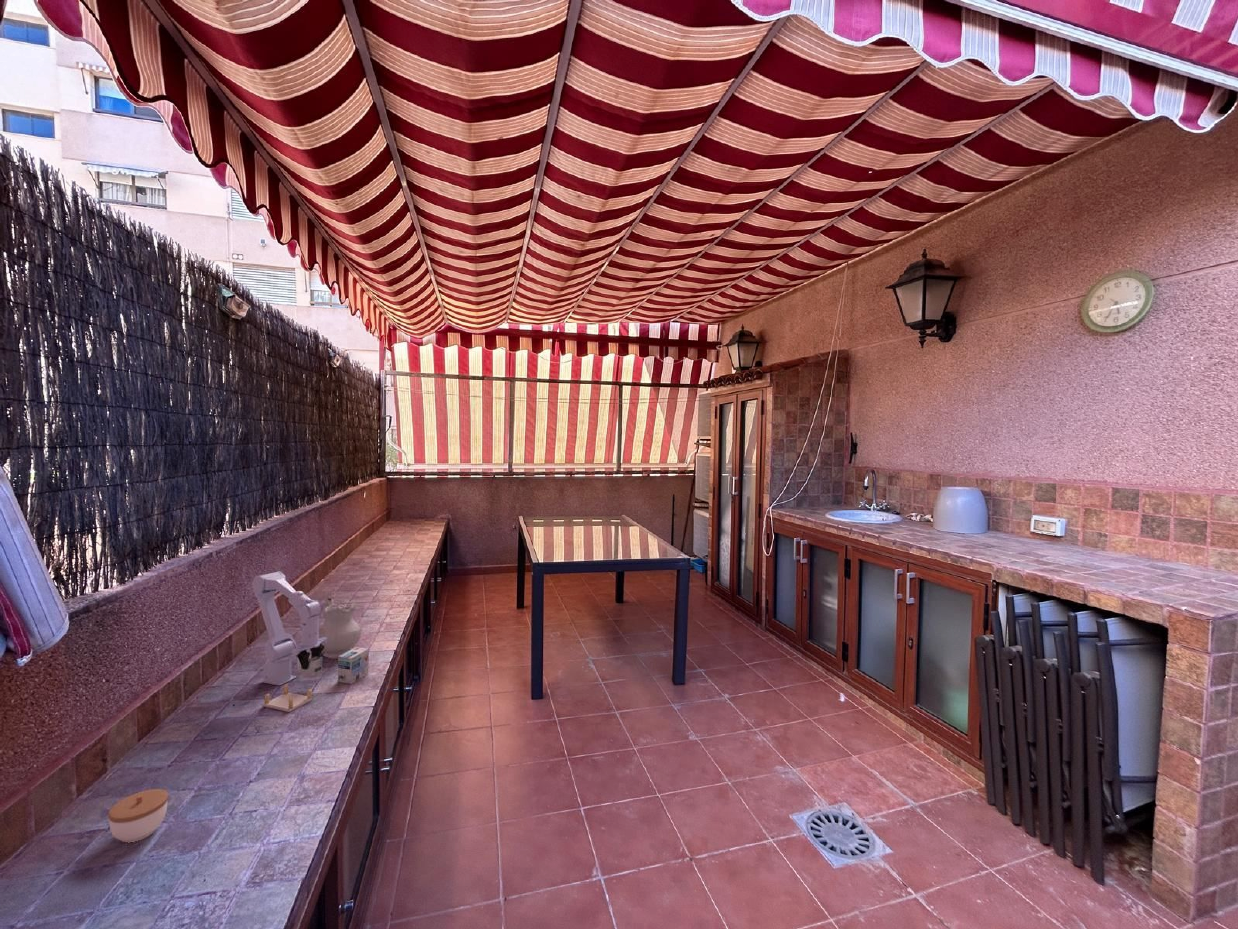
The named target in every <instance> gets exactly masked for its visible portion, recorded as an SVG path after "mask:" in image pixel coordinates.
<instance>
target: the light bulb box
mask: <svg viewBox="0 0 1238 929" xmlns="http://www.w3.org/2000/svg"><path fill="white" fill-rule="evenodd" d="M350 649H351V650H350V651H348V652H346V653H344V654H342V655H340V656H338V659H337V682H338V683H343V684H351V685H352V684H353V683H355V682H357V681H358V680H360V679H362V678H363V677H365V676H367V675H369V658H370V656H369V655H370V649H369V648H366V647H359V646H358V647H357V646H354V647H353V648H350Z"/></svg>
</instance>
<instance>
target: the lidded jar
mask: <svg viewBox="0 0 1238 929" xmlns="http://www.w3.org/2000/svg"><path fill="white" fill-rule="evenodd" d="M168 800H169V792H168V791H167V790H165V789H162V788H152V789H146V790H142V791H140V792H137V793H134V794H131V795H129V796H127V797H124V798H123V799H121V800H120V801H118V802H116V803H115V804H114V805H113V806H112V807H111V808H110V810H109V812H108V820H109V829H110V834H112V836H113V837H114V838H115V839H116V840H118V841H121V842H123V843H124V842H126V843H125V844H131V843H130V842H133V843H136V842H135V841H137V842H139V841H142V840H145V839H146V838H148V837H150V836H151V835H152V834H153V833H154V832H156V829H157V828H158V827H159V826H160V825H161V823H162V822H163V820H164V819H165V817H166V813H167V811H168V810H167V809H168V802H169V801H168ZM138 840H139V841H138ZM127 842H128V843H127Z"/></svg>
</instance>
